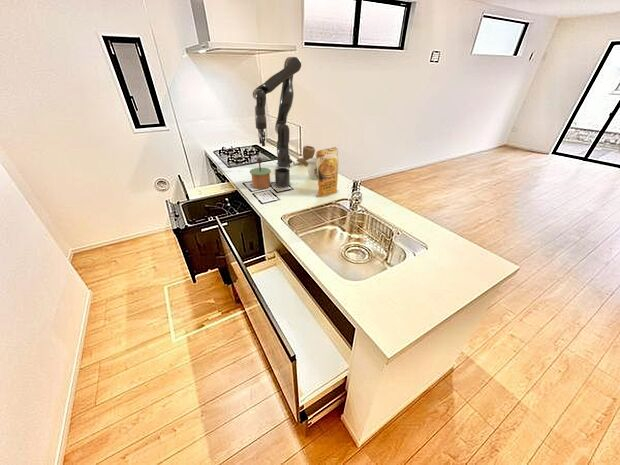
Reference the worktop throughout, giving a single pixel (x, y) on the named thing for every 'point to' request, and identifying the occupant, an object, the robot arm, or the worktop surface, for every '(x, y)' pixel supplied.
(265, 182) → the clay pot
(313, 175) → the pitcher
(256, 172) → the lid
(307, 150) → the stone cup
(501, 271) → the worktop surface
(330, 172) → the pancake mix bag
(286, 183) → the cup
